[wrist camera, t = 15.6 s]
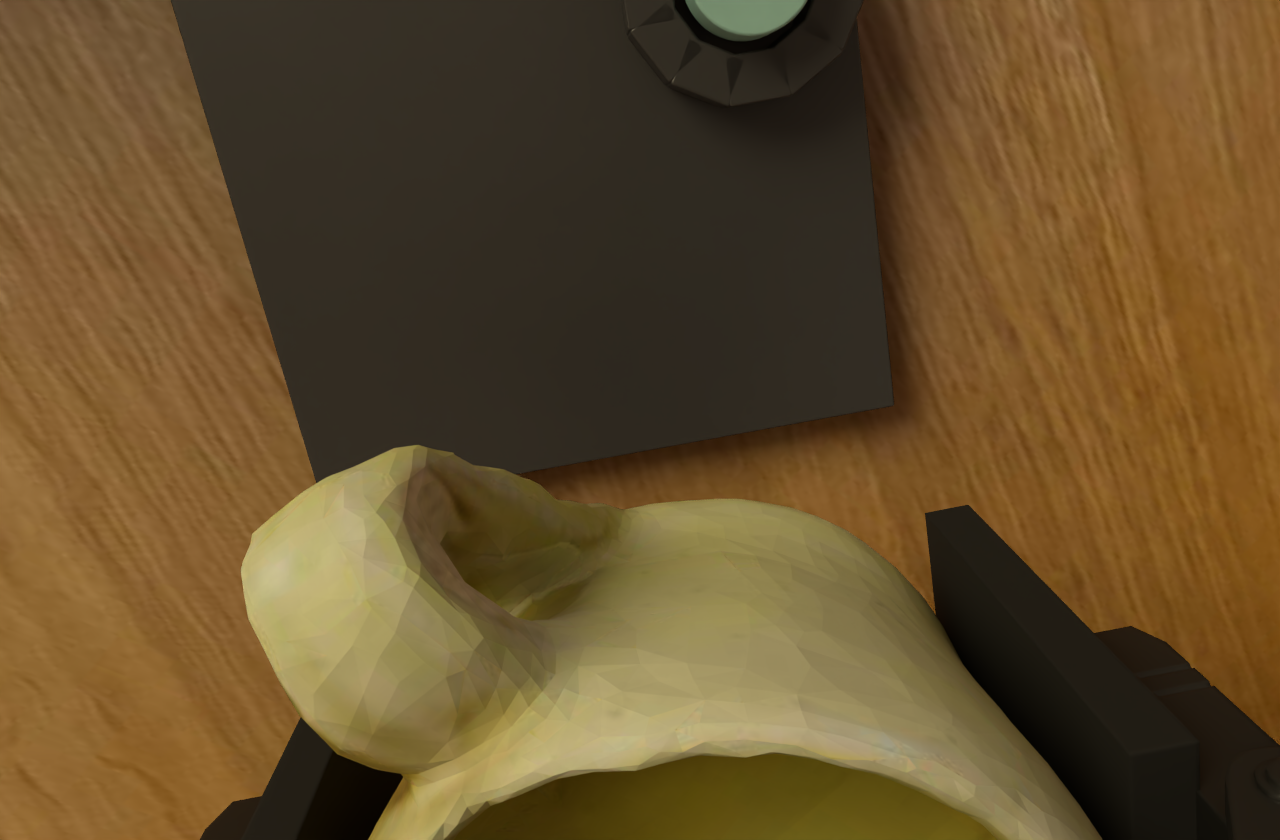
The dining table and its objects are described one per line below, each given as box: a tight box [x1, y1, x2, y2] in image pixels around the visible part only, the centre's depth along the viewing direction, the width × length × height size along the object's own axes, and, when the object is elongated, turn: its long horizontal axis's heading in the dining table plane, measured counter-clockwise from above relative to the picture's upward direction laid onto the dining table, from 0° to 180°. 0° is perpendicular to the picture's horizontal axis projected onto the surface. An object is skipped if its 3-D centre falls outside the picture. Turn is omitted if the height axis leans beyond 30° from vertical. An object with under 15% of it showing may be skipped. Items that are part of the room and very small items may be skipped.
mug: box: [241, 445, 1103, 840], centre depth 13 cm, size 12×10×10 cm
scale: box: [171, 0, 894, 483], centre depth 25 cm, size 17×15×3 cm
